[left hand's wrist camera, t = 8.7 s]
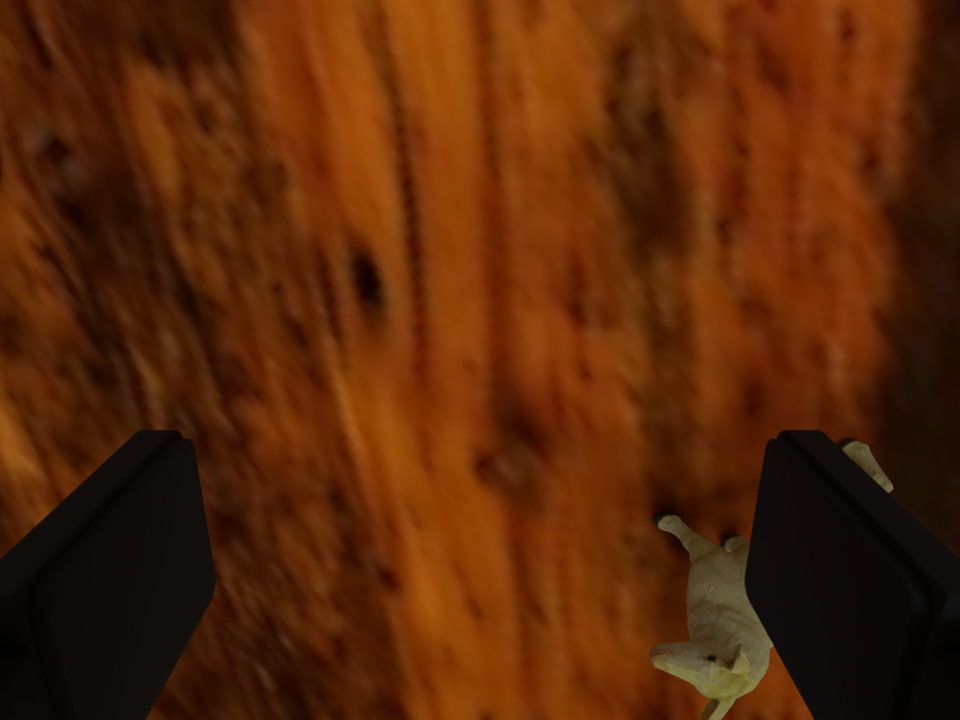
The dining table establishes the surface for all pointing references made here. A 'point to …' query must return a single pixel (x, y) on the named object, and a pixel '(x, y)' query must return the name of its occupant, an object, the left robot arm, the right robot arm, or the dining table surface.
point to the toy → (726, 611)
